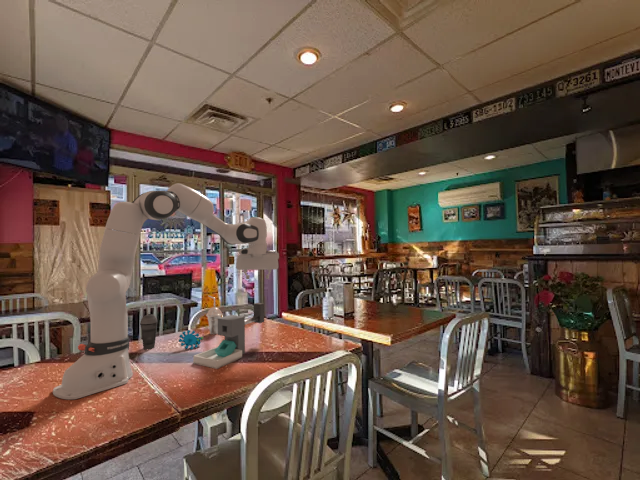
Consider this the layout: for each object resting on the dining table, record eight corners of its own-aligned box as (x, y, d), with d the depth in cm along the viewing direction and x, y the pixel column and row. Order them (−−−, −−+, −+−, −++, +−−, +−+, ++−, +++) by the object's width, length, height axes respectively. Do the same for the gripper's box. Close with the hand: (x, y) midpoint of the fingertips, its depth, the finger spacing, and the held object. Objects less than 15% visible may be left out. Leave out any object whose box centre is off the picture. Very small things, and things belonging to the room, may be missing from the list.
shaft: (232, 332, 134) (232, 311, 134) (225, 331, 136) (225, 310, 136) (264, 321, 153) (264, 303, 153) (257, 320, 155) (257, 302, 155)
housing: (231, 359, 131) (231, 320, 131) (217, 356, 134) (217, 318, 135) (244, 353, 138) (244, 316, 138) (231, 350, 141) (231, 314, 142)
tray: (216, 369, 120) (216, 361, 120) (193, 363, 126) (193, 355, 126) (242, 357, 132) (242, 350, 133) (219, 352, 139) (219, 345, 139)
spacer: (225, 353, 129) (233, 341, 133) (214, 351, 132) (223, 339, 136) (228, 357, 130) (236, 346, 135) (217, 355, 133) (226, 344, 137)
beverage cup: (150, 350, 142) (150, 306, 142) (136, 350, 143) (136, 306, 143) (161, 345, 149) (161, 303, 149) (147, 345, 150) (147, 303, 150)
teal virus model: (181, 348, 139) (178, 329, 145) (176, 356, 142) (174, 336, 148) (205, 347, 146) (201, 328, 153) (200, 353, 149) (197, 335, 155)
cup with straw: (207, 336, 164) (207, 297, 165) (204, 332, 172) (204, 295, 173) (223, 333, 168) (223, 296, 169) (220, 330, 176) (220, 294, 177)
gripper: (279, 250, 158) (279, 278, 158) (237, 250, 156) (237, 278, 156) (278, 250, 152) (278, 279, 152) (235, 250, 150) (235, 279, 149)
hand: (257, 278), depth 154 cm, fingers open, 8 cm apart
